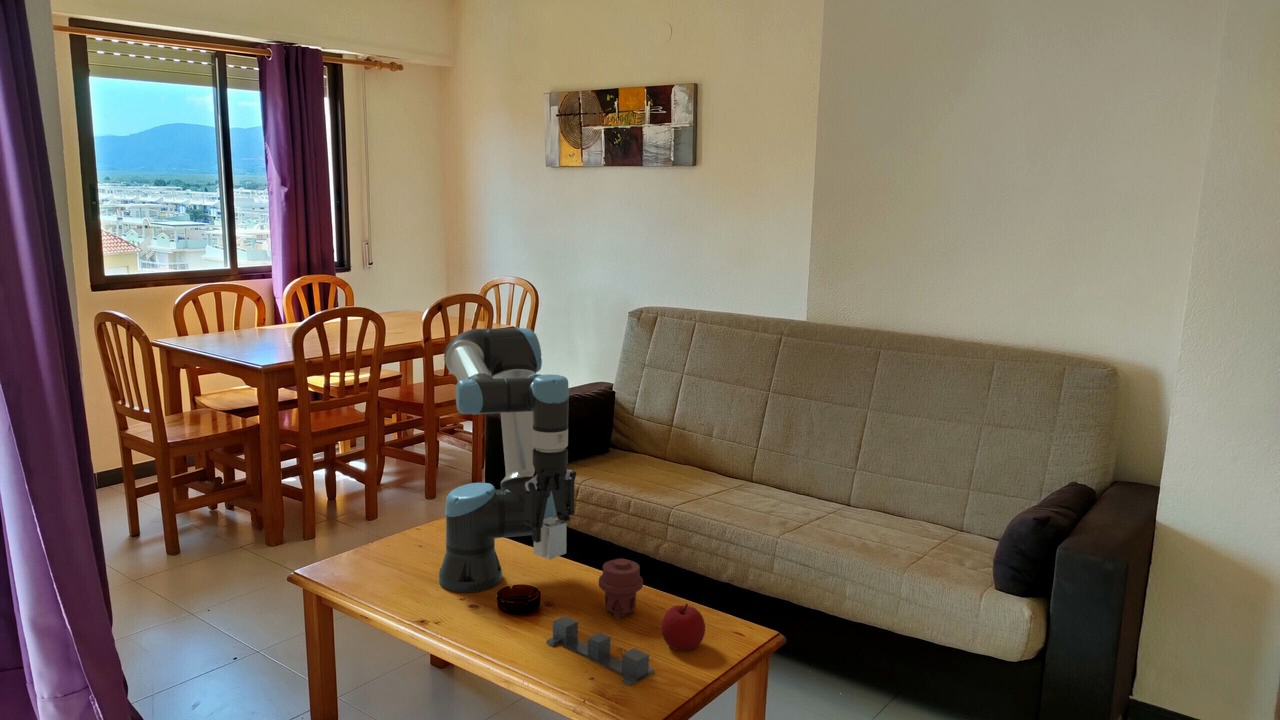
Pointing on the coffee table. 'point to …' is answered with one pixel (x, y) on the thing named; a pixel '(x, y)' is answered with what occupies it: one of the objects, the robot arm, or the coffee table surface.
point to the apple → (683, 627)
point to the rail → (601, 651)
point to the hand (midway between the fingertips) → (549, 551)
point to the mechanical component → (620, 586)
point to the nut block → (554, 537)
